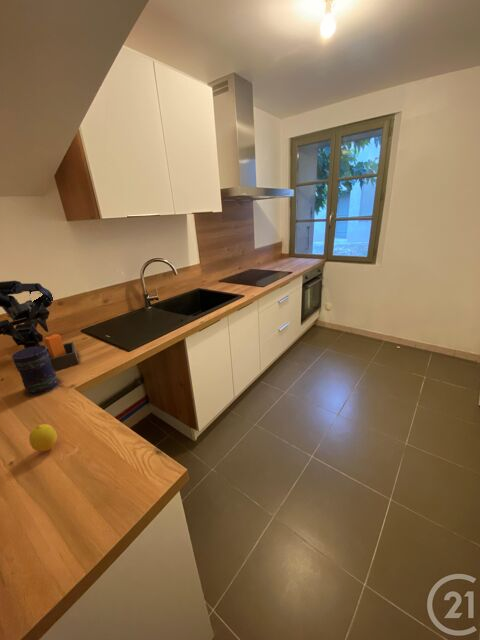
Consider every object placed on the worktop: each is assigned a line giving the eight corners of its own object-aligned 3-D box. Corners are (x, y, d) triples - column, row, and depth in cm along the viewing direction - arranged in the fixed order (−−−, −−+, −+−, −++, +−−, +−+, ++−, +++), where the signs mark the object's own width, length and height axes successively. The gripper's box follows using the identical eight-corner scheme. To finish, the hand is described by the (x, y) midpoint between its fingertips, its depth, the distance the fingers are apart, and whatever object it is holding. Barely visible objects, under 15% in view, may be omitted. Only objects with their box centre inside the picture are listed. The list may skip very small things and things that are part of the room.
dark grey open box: (44, 361, 117) (40, 350, 115) (76, 352, 123) (73, 341, 121) (43, 374, 106) (38, 362, 104) (78, 363, 112) (74, 352, 110)
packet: (52, 363, 113) (43, 338, 109) (64, 358, 117) (55, 333, 113) (57, 364, 112) (48, 339, 107) (68, 359, 116) (60, 334, 111)
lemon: (45, 441, 72) (36, 418, 69) (65, 440, 72) (56, 417, 69) (30, 458, 67) (19, 434, 64) (51, 458, 67) (40, 434, 64)
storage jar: (20, 393, 94) (4, 357, 89) (46, 378, 103) (33, 344, 98) (39, 397, 91) (24, 360, 86) (65, 381, 100) (52, 346, 94)
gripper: (-15, 302, 98) (11, 333, 97) (40, 290, 113) (62, 317, 112) (-15, 320, 104) (9, 349, 103) (36, 305, 119) (57, 331, 118)
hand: (36, 335), depth 109 cm, fingers open, 9 cm apart
